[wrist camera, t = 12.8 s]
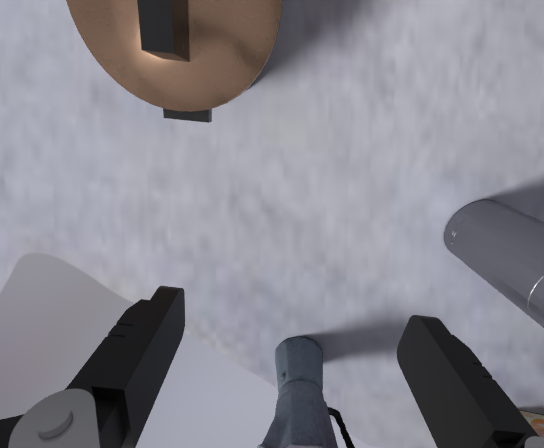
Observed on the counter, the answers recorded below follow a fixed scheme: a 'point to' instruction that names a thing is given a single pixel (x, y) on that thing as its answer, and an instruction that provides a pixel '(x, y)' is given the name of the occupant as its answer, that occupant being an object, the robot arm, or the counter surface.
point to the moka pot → (302, 400)
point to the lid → (180, 46)
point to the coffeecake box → (535, 422)
